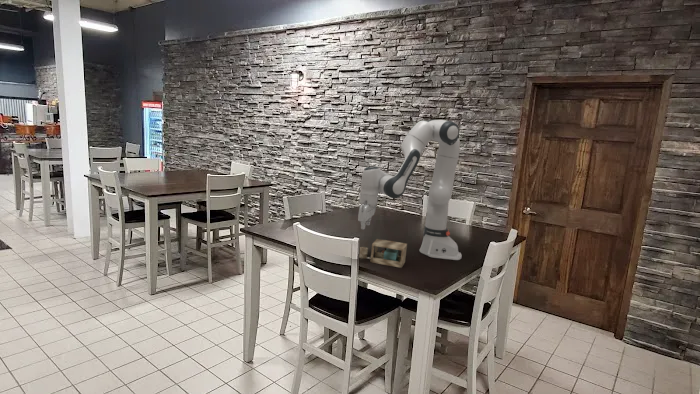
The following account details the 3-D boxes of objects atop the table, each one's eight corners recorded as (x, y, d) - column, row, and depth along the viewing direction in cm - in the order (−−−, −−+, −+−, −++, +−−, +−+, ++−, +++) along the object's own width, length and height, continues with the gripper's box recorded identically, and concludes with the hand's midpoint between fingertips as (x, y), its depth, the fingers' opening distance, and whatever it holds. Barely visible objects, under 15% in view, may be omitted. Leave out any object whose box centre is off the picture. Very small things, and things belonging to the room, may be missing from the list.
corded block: (397, 261, 197) (398, 250, 196) (395, 265, 191) (396, 253, 190) (360, 255, 202) (361, 243, 201) (357, 258, 196) (358, 247, 195)
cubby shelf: (405, 261, 198) (407, 243, 196) (401, 267, 188) (403, 249, 187) (375, 256, 202) (376, 238, 200) (370, 262, 192) (372, 243, 191)
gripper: (369, 203, 182) (366, 232, 185) (379, 197, 202) (376, 223, 204) (356, 201, 184) (353, 230, 187) (367, 195, 203) (364, 221, 206)
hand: (365, 226), depth 196 cm, fingers open, 8 cm apart
